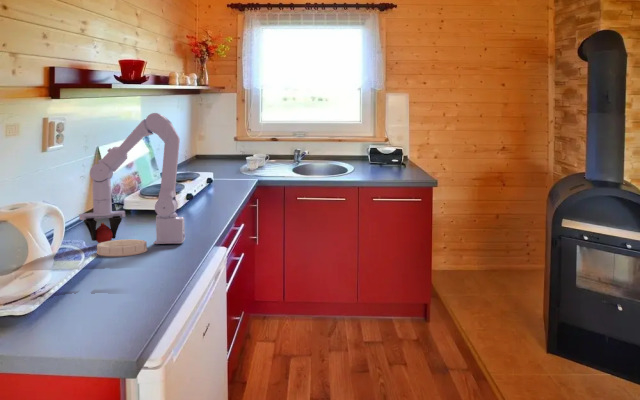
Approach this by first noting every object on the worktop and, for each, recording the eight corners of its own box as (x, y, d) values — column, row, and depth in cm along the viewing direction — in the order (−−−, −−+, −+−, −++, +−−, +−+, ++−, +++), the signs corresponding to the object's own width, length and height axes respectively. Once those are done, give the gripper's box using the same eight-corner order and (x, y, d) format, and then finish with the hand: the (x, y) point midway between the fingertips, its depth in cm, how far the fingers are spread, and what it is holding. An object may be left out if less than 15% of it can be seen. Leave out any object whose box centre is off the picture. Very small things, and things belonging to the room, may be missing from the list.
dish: (151, 247, 164) (151, 238, 163) (141, 255, 149) (141, 246, 149) (104, 248, 161) (104, 239, 161) (90, 257, 147) (89, 248, 146)
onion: (115, 244, 169) (114, 221, 168) (109, 247, 163) (108, 223, 162) (98, 244, 168) (97, 221, 168) (91, 247, 163) (90, 223, 162)
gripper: (118, 197, 172) (119, 235, 173) (75, 200, 162) (77, 240, 163) (127, 199, 167) (128, 237, 168) (83, 201, 157) (84, 242, 158)
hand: (103, 239), depth 165 cm, fingers closed on onion, 6 cm apart
